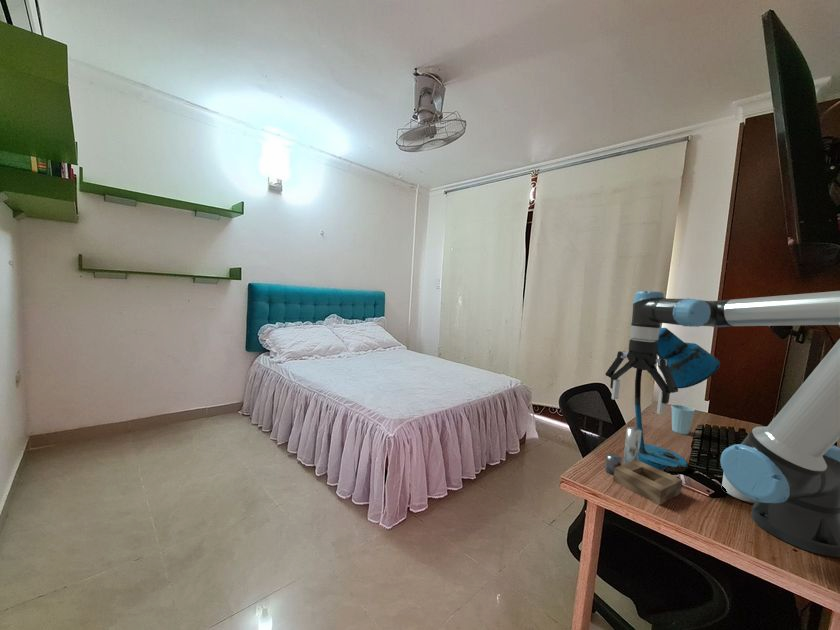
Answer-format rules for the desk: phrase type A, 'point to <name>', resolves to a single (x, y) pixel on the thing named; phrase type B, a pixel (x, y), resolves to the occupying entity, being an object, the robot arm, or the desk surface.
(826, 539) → the robot arm
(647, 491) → the tan square frame
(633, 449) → the tall pin
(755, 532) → the desk surface
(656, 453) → the desk lamp
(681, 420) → the cup
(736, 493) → the beverage can
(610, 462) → the stub pin
